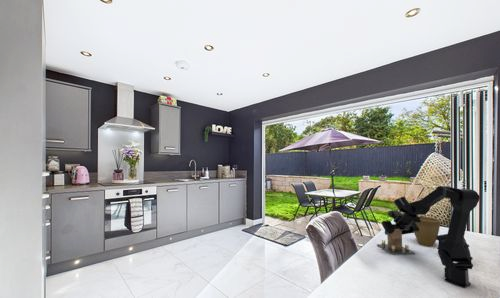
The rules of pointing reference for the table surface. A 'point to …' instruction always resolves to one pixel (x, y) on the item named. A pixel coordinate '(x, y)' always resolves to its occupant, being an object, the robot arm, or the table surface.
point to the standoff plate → (396, 252)
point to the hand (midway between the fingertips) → (392, 234)
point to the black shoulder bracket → (467, 252)
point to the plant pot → (427, 231)
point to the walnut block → (395, 239)
